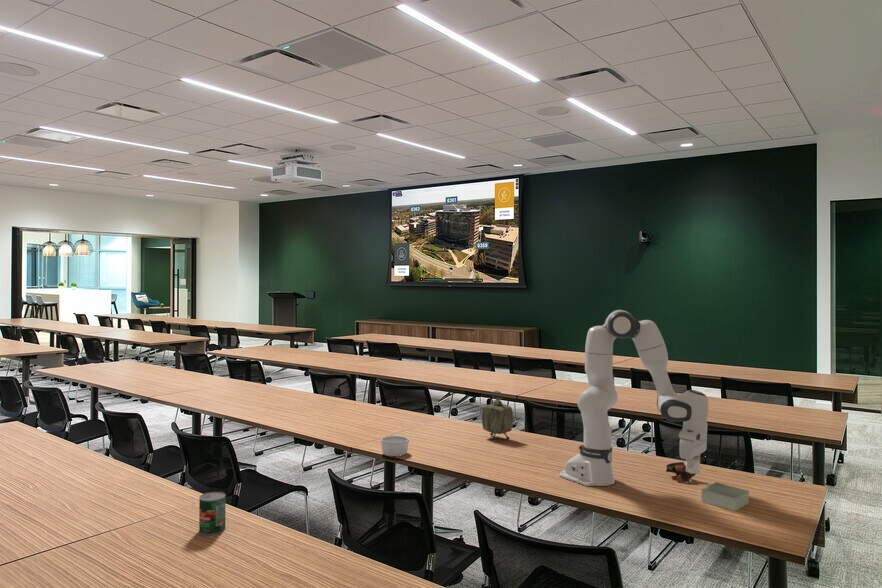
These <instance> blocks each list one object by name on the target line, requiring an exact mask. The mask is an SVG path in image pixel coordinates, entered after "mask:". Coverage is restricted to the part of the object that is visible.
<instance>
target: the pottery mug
mask: <svg viewBox="0 0 882 588" xmlns="http://www.w3.org/2000/svg"><path fill="white" fill-rule="evenodd" d="M665 466H666V470H665V472H666V473H672V474H675V475H676V477H675V479H676V482H677V483H690V482H691V481H690V480H691V479H692V478H693V477H695V476H696V475H697V474H693V473H689V472H686V464H685V462H684V461H678V462H677V461H676V462H671V463H669V464H666V465H665Z"/></svg>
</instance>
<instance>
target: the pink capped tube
mask: <svg viewBox="0 0 882 588" xmlns="http://www.w3.org/2000/svg"><path fill="white" fill-rule="evenodd" d="M685 461H686V460H685ZM692 463H693V467H692V468H687V461H686V462H685V465H686V472H689V473H691V474H692V473H693V474H696V475H697V474H700V470H701V469H700V466H701V465H700V464H701V456H700V457H699V456H695V457H694V458H693V460H692Z"/></svg>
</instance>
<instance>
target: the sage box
mask: <svg viewBox="0 0 882 588" xmlns="http://www.w3.org/2000/svg"><path fill="white" fill-rule="evenodd" d="M749 493H750V490H747V489H744V488H739V487H736V486H732V485H728V484H724V483H720V482H716V481H715V482H714V483H712V484H709V485H707V486H705V487H703V488H701V502H702V503H704V504H708V505H711V506H716V507H718V508H719V507H720V508H723V509H726V510H729V511H733V512H736V511H738V510H740V509H741V508H743V507H744V506H747V505H749V499H750V498H749V495H750V494H749Z"/></svg>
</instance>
